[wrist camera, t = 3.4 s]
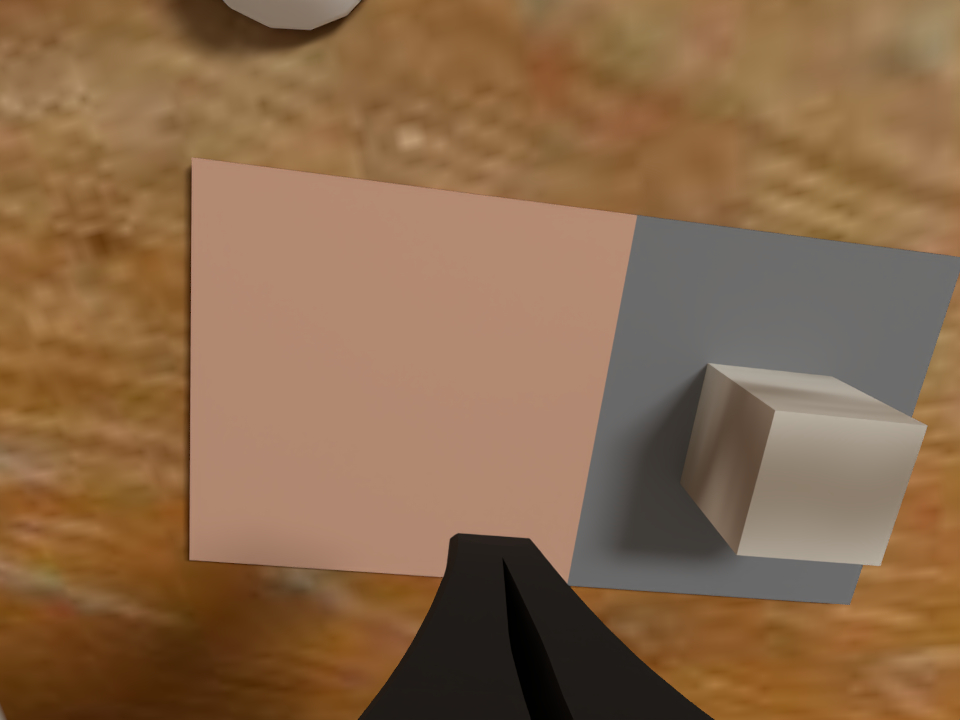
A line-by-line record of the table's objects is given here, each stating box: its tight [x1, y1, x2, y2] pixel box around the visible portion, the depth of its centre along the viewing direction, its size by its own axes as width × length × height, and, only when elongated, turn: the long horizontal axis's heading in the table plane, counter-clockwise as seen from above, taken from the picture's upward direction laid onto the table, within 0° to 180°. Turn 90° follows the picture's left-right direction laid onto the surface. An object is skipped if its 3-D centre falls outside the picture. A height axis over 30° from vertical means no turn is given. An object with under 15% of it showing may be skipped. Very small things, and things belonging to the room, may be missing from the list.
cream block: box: [680, 363, 927, 566], centre depth 18 cm, size 4×4×4 cm
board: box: [189, 158, 960, 605], centre depth 20 cm, size 12×22×1 cm, turn 83°
